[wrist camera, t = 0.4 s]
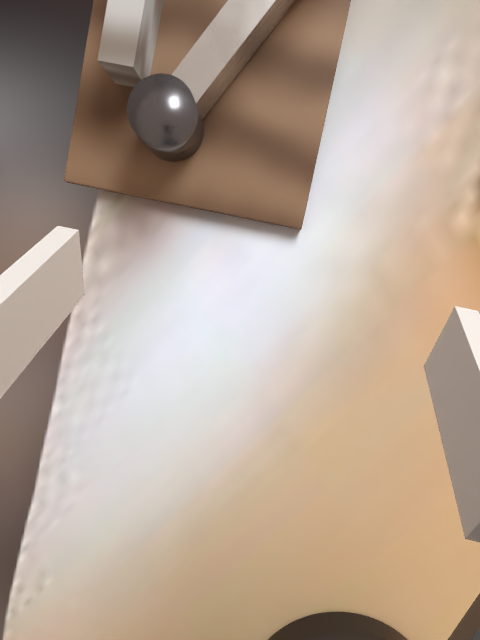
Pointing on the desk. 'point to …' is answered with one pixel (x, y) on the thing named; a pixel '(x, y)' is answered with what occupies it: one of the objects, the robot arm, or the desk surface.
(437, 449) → the desk surface
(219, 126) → the board
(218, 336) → the desk surface
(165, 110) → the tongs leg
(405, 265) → the desk surface
